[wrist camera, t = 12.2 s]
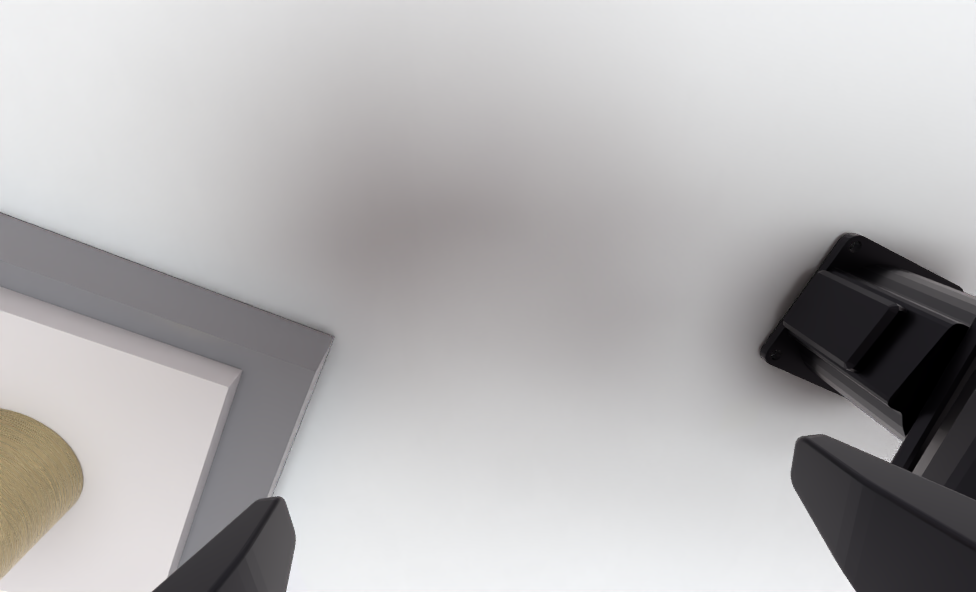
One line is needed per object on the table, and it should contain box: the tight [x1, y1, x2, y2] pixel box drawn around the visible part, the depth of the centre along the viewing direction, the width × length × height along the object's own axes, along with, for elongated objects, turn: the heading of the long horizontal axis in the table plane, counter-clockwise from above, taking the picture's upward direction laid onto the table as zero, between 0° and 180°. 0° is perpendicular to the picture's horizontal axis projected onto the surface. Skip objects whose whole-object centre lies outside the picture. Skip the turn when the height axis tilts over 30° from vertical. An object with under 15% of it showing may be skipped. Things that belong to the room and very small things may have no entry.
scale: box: [0, 213, 334, 592], centre depth 21 cm, size 18×20×4 cm
